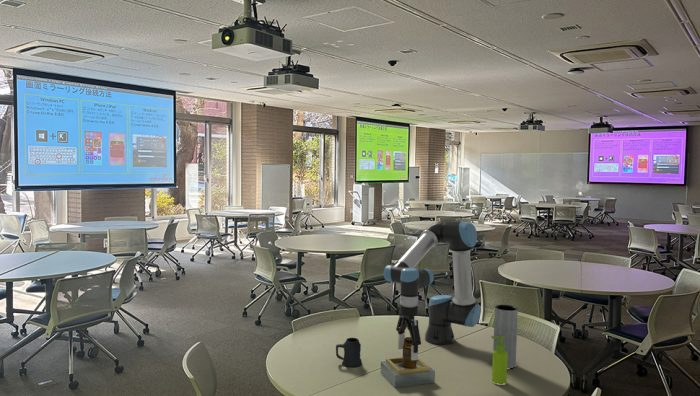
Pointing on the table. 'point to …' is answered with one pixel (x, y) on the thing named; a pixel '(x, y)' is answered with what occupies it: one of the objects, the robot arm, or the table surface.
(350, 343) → the mug
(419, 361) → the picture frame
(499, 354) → the soap dispenser
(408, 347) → the condiment
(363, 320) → the table surface
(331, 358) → the table surface
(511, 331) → the vase
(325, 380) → the table surface
